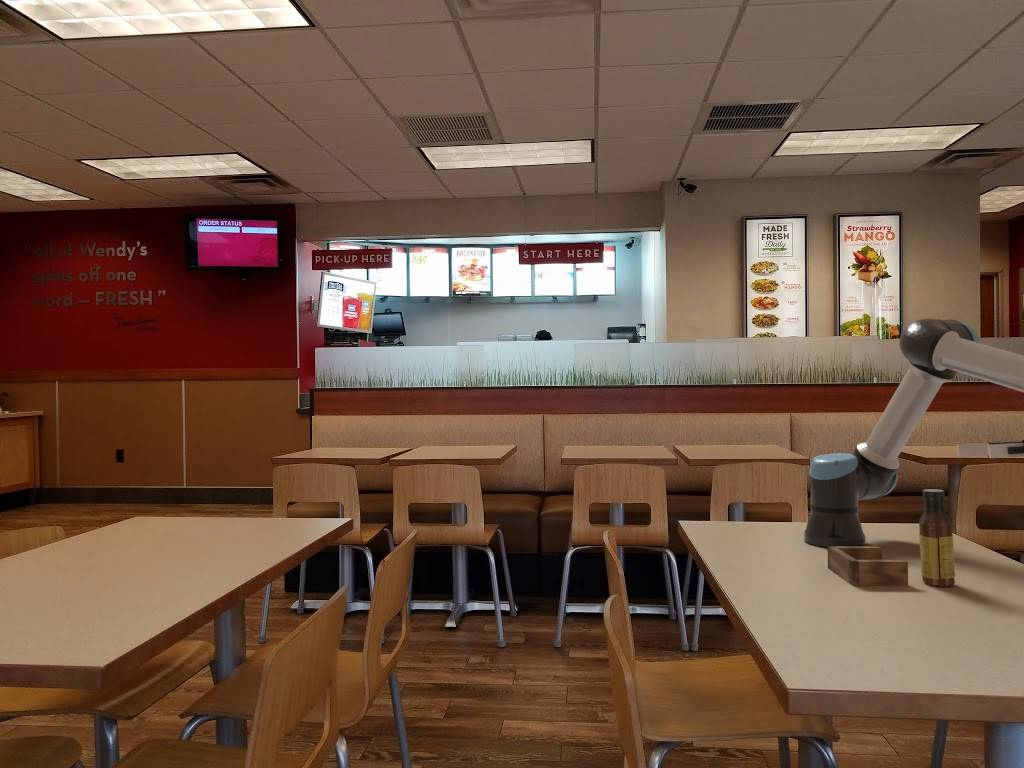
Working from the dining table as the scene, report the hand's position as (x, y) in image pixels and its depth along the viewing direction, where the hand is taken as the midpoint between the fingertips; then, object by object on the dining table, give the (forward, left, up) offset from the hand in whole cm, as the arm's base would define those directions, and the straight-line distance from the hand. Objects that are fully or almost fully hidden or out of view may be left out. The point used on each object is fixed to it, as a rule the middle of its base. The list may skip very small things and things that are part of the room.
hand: (972, 451), depth 162 cm
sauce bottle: (-2, -8, -28) cm, 29 cm away
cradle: (-13, -15, -28) cm, 35 cm away
